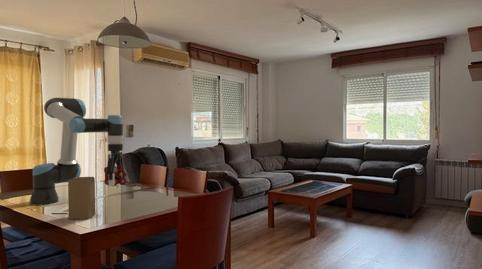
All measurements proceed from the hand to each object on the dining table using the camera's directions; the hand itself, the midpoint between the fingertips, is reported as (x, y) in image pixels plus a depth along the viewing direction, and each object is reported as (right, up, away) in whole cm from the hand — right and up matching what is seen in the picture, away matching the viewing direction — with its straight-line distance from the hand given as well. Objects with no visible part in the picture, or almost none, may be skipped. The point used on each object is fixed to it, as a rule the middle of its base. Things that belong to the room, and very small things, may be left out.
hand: (115, 183), depth 183 cm
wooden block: (-12, -15, -12) cm, 23 cm away
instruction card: (-25, -15, +4) cm, 30 cm away
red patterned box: (0, -1, 0) cm, 1 cm away
